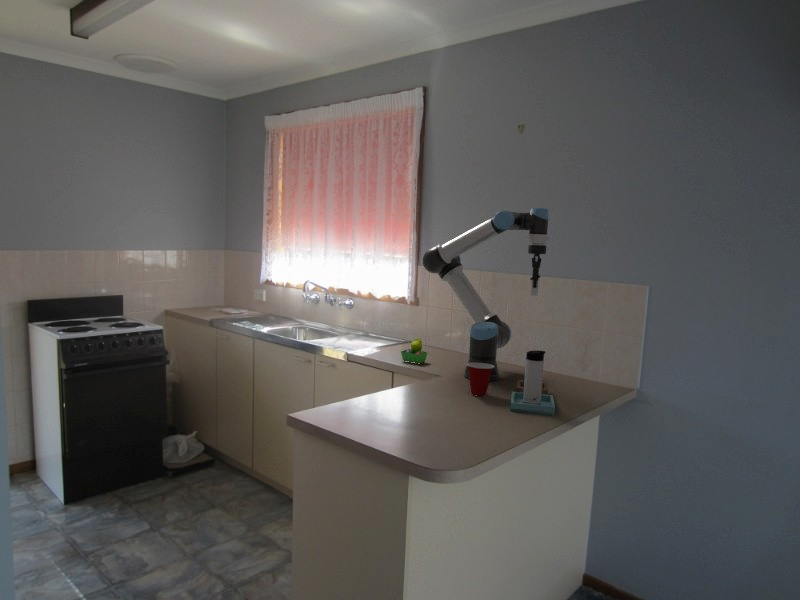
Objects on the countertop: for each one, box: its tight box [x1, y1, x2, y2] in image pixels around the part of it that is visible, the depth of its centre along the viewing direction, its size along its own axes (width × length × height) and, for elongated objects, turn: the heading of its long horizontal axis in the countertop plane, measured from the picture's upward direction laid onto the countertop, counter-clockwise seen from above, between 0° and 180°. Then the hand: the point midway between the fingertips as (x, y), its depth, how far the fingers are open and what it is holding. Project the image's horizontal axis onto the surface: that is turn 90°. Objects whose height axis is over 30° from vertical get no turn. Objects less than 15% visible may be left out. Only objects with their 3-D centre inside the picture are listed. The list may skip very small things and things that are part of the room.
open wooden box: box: [516, 379, 549, 395], centre depth 220 cm, size 12×12×4 cm
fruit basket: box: [400, 337, 429, 364], centre depth 268 cm, size 11×9×11 cm
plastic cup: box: [465, 362, 494, 397], centre depth 218 cm, size 11×11×12 cm
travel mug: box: [523, 350, 546, 405], centre depth 203 cm, size 6×7×20 cm
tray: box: [509, 391, 556, 416], centre depth 205 cm, size 15×15×3 cm
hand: (534, 294), depth 244 cm, fingers open, 13 cm apart
